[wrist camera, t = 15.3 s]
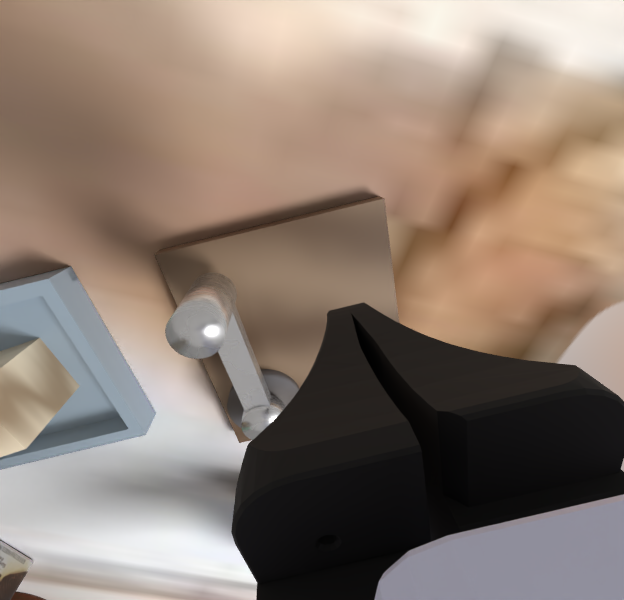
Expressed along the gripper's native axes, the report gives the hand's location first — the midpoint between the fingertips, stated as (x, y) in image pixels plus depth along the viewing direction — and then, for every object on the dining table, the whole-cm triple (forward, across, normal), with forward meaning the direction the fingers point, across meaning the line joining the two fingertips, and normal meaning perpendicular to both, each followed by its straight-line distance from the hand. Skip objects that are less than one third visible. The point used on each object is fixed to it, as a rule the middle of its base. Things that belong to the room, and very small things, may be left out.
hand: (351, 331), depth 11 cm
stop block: (+9, +20, +3) cm, 22 cm away
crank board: (+9, +2, +5) cm, 11 cm away
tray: (+9, +20, +3) cm, 22 cm away
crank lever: (+7, +6, +5) cm, 11 cm away
